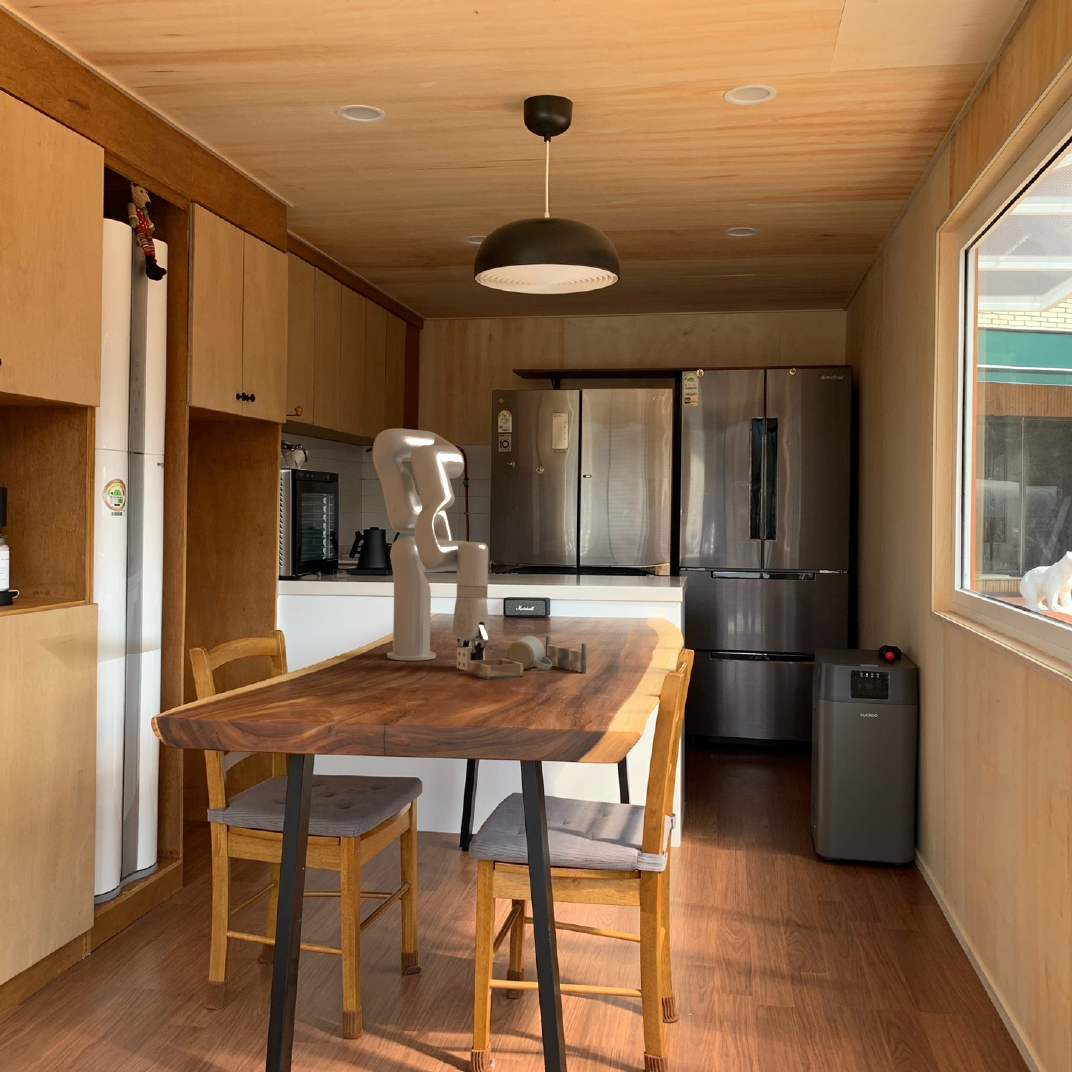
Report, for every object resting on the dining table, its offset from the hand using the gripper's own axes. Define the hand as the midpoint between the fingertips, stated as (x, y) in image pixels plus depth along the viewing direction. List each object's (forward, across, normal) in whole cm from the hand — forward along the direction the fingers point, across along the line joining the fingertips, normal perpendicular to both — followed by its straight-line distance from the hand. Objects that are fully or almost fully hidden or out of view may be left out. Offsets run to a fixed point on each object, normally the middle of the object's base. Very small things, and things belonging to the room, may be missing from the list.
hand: (470, 666), depth 254 cm
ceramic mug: (+1, +6, +14) cm, 15 cm away
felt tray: (0, +12, 0) cm, 12 cm away
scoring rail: (+1, +10, +21) cm, 23 cm away
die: (+1, 0, 0) cm, 1 cm away
